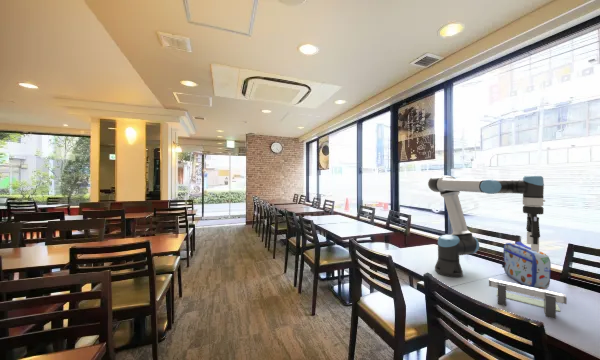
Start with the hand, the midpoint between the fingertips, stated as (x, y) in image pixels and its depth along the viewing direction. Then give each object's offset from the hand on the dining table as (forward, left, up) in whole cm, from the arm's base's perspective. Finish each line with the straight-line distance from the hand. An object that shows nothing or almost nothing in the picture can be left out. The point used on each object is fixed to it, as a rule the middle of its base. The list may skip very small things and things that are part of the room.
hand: (532, 247), depth 120 cm
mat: (-3, -8, -25) cm, 27 cm away
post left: (-12, -18, -25) cm, 33 cm away
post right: (+4, -18, -25) cm, 31 cm away
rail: (-4, -18, -18) cm, 26 cm away
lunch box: (-2, +21, -25) cm, 33 cm away
